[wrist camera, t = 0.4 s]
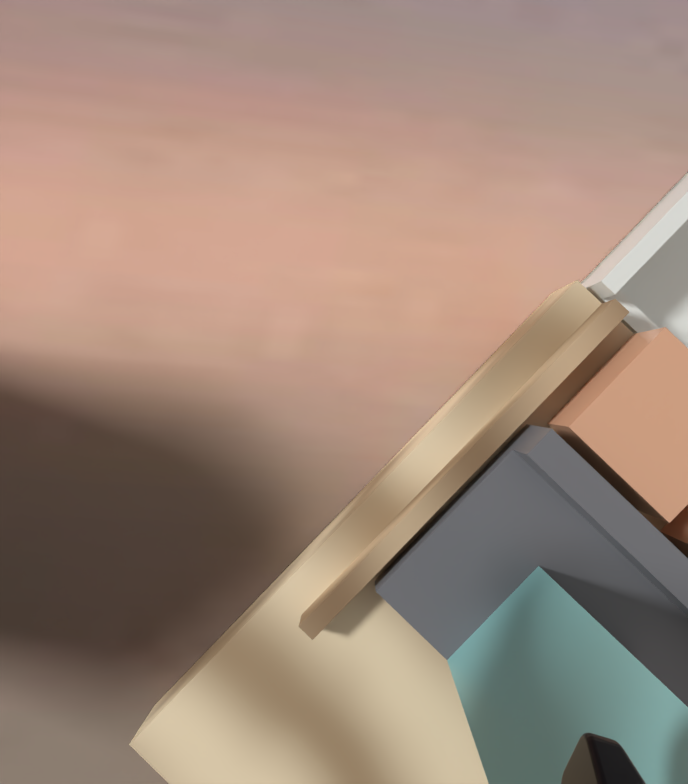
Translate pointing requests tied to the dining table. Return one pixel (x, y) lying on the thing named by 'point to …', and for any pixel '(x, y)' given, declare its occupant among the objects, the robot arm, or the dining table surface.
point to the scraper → (553, 615)
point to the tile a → (636, 422)
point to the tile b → (678, 531)
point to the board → (372, 601)
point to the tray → (651, 269)
